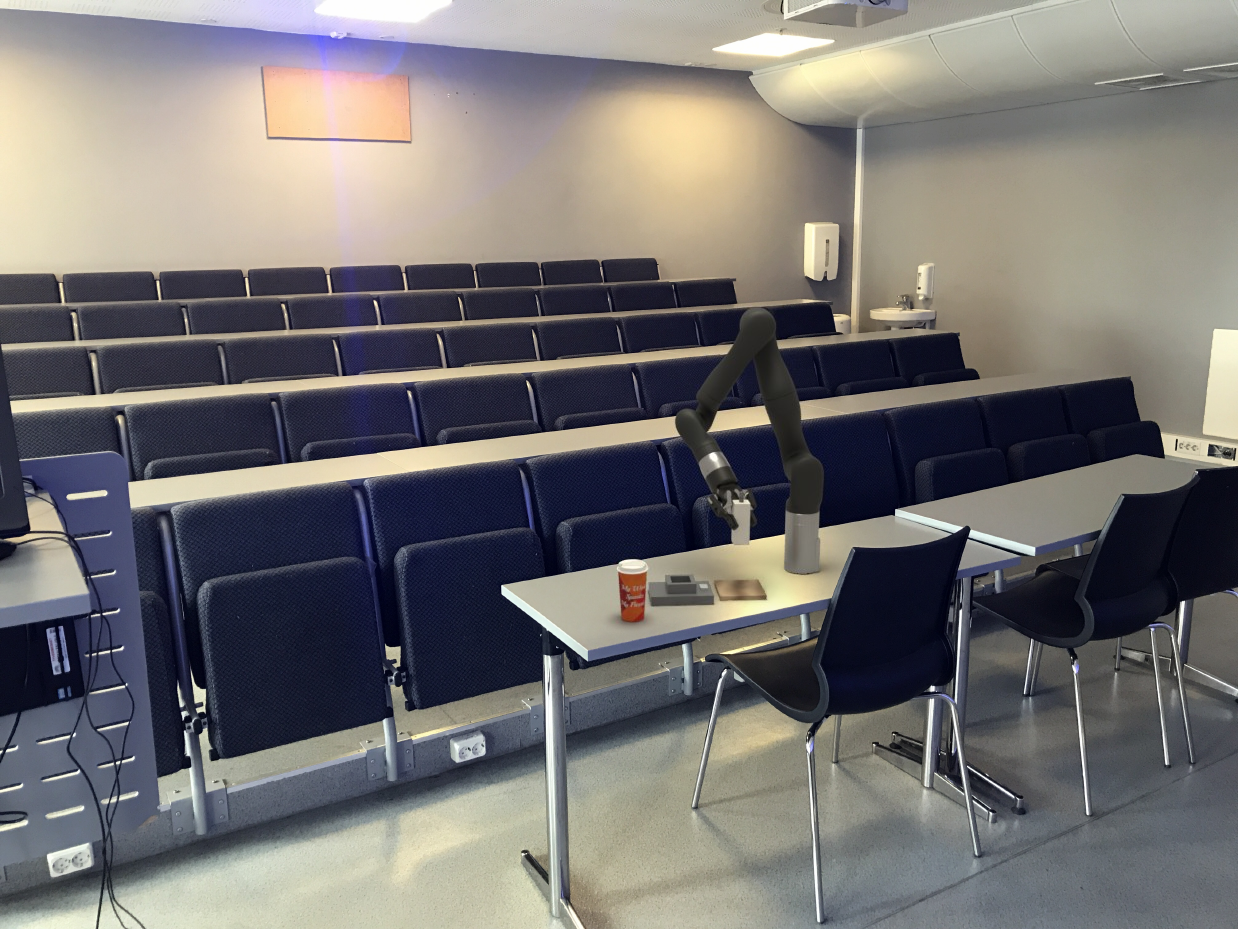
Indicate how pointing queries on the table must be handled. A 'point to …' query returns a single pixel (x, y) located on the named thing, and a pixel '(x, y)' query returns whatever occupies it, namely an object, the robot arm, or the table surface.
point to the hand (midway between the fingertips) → (745, 526)
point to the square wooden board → (739, 590)
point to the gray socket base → (680, 591)
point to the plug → (741, 520)
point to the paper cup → (632, 589)
